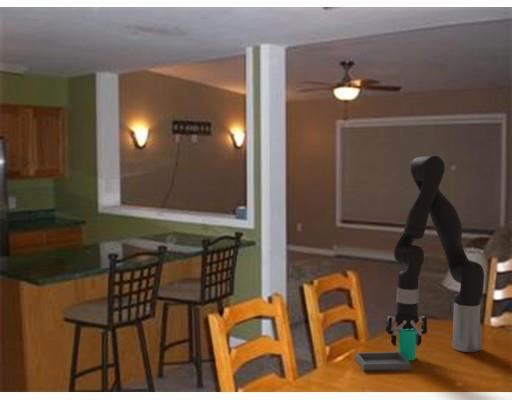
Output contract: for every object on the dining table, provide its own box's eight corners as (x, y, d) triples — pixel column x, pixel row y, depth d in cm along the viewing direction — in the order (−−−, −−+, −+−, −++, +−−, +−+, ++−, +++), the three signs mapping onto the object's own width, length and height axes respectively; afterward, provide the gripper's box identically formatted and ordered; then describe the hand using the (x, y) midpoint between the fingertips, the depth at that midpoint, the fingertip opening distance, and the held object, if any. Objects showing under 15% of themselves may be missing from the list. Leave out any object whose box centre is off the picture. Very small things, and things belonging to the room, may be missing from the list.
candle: (414, 355, 225) (414, 322, 224) (416, 360, 219) (417, 327, 218) (397, 354, 226) (397, 321, 225) (399, 360, 220) (400, 326, 219)
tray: (399, 358, 221) (399, 351, 221) (410, 370, 209) (410, 363, 209) (355, 359, 220) (355, 352, 220) (363, 371, 208) (363, 364, 208)
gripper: (423, 297, 225) (421, 341, 227) (384, 297, 224) (383, 342, 226) (430, 302, 218) (429, 348, 219) (390, 303, 217) (389, 348, 218)
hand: (405, 345), depth 222 cm, fingers open, 8 cm apart
